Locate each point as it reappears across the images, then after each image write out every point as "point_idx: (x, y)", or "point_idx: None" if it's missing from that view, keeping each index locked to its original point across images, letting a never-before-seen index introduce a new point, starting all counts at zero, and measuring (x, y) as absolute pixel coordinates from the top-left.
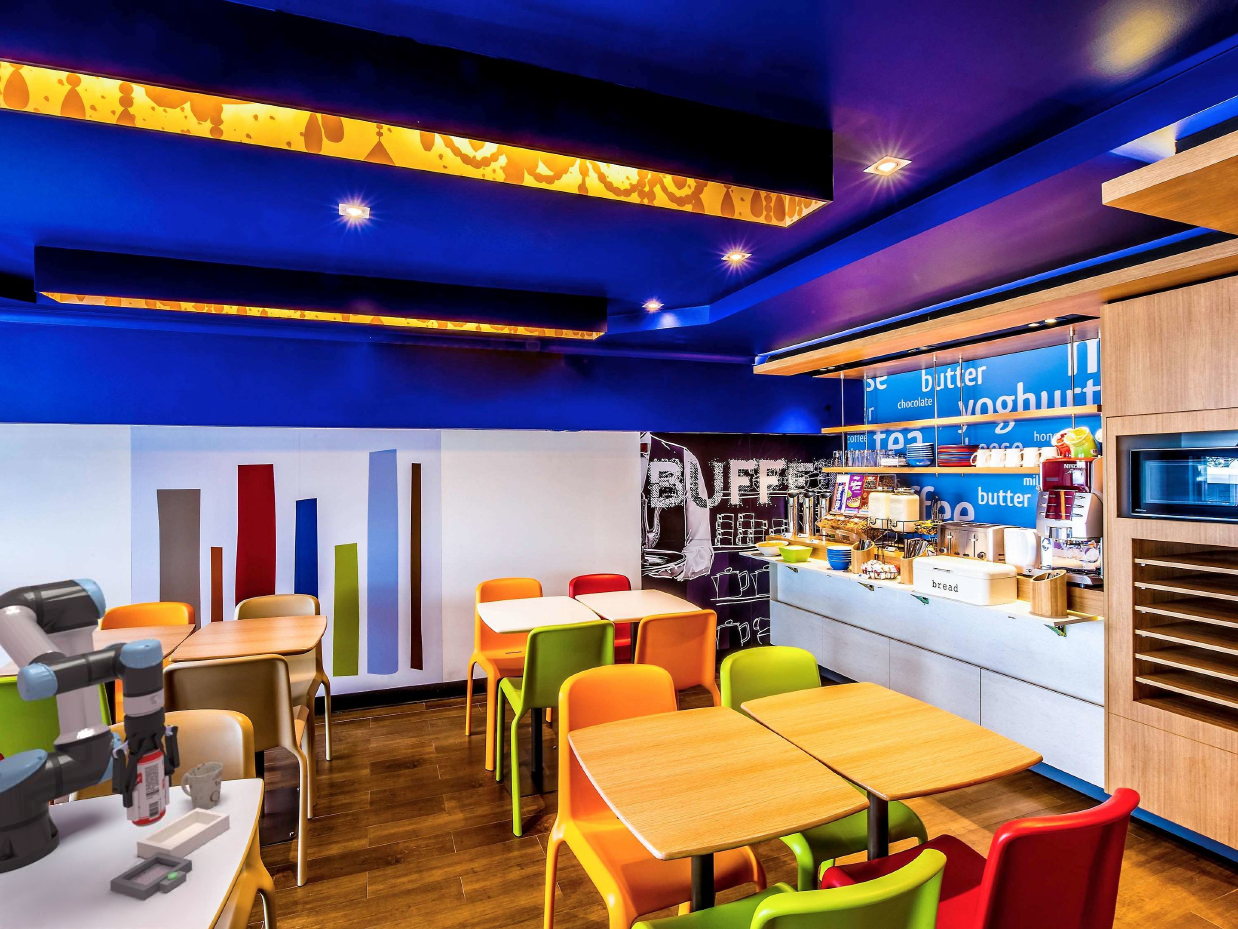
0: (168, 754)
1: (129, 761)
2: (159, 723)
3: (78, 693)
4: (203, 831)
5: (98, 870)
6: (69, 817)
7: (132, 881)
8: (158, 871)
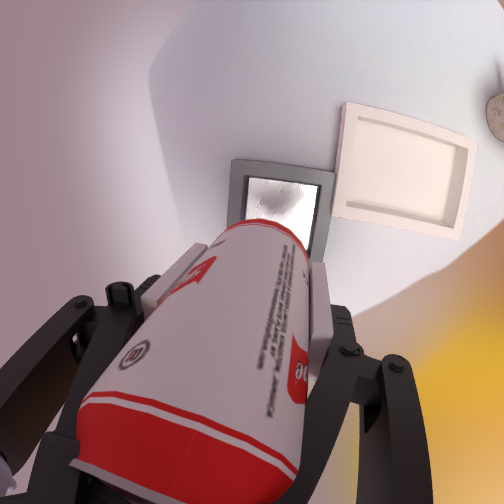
0: (381, 437)
1: (65, 428)
2: None
3: None
4: (406, 229)
5: (283, 70)
6: None
7: (239, 210)
8: (293, 215)
